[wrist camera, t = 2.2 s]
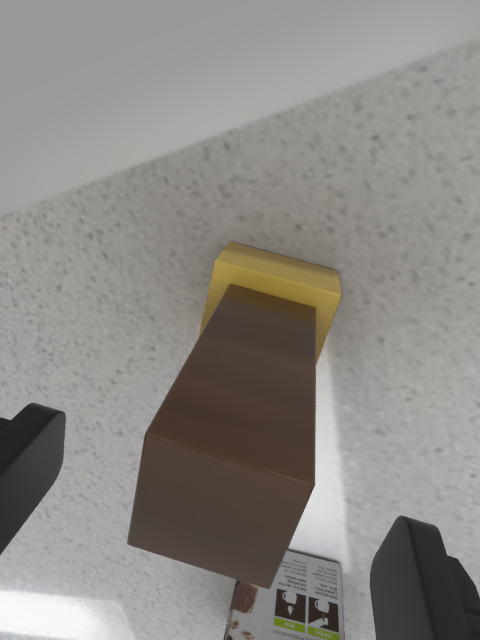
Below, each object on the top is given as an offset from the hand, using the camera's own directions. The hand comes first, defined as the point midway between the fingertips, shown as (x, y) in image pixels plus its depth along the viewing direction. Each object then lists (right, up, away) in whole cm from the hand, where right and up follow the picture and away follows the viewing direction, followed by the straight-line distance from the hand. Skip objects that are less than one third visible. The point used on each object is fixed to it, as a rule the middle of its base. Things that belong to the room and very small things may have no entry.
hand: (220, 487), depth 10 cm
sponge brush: (+2, +5, +10) cm, 11 cm away
